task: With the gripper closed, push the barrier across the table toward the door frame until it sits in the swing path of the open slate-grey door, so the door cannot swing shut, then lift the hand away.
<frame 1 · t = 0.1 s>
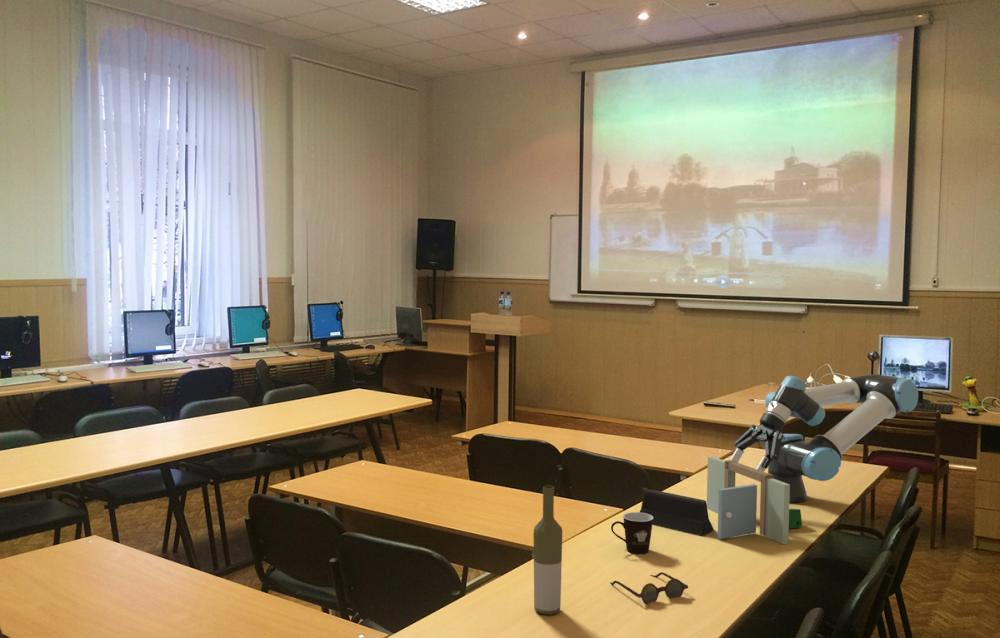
hand: (743, 470, 253), 15 cm above the table, tool tilted 35°, fingers open, 13 cm apart
door frame: (746, 525, 244), on the table
eyeglasses: (646, 591, 194), on the table
bottle: (547, 611, 181), on the table
clamp: (780, 527, 244), on the table
coffee mug: (632, 550, 222), on the table
door: (739, 511, 232), point 8 cm above the table, hinge at 95.0°
barrier: (674, 526, 244), on the table
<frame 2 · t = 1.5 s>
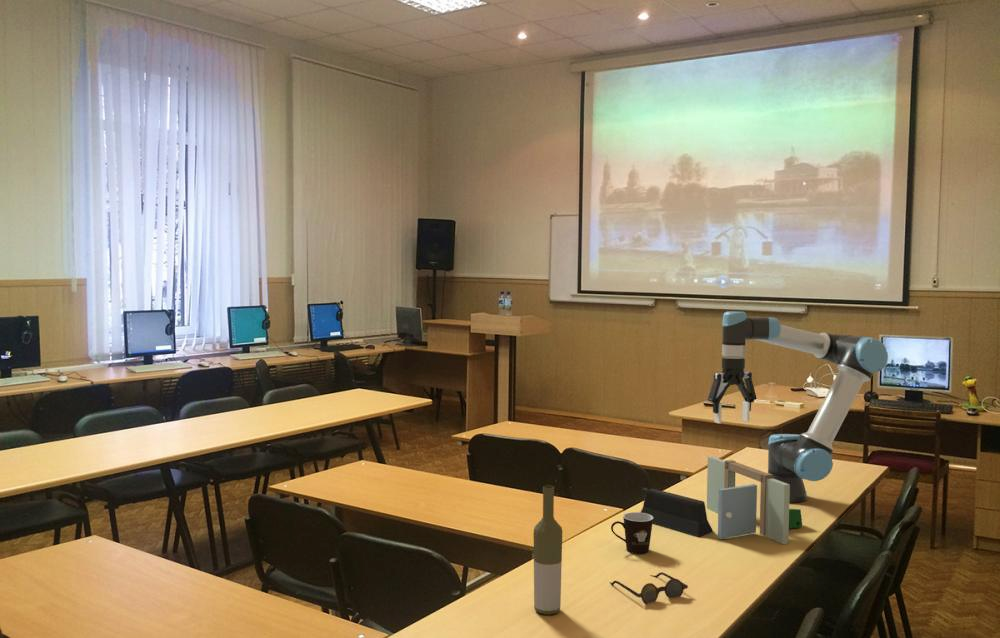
hand: (731, 421, 257), 31 cm above the table, tool pointing down, fingers open, 11 cm apart
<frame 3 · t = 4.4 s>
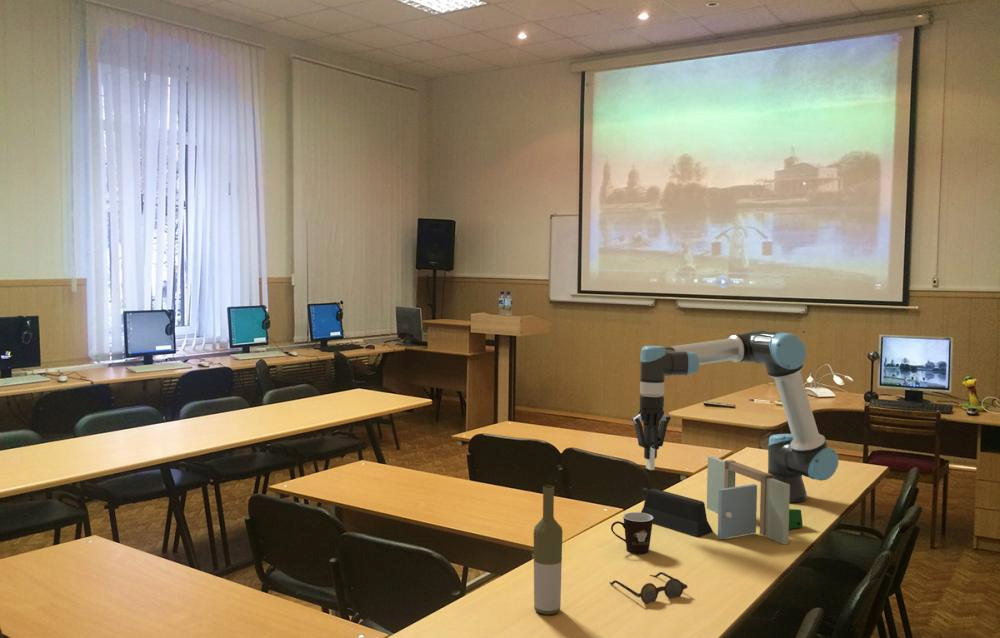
hand: (650, 468, 240), 19 cm above the table, tool pointing down, fingers closed
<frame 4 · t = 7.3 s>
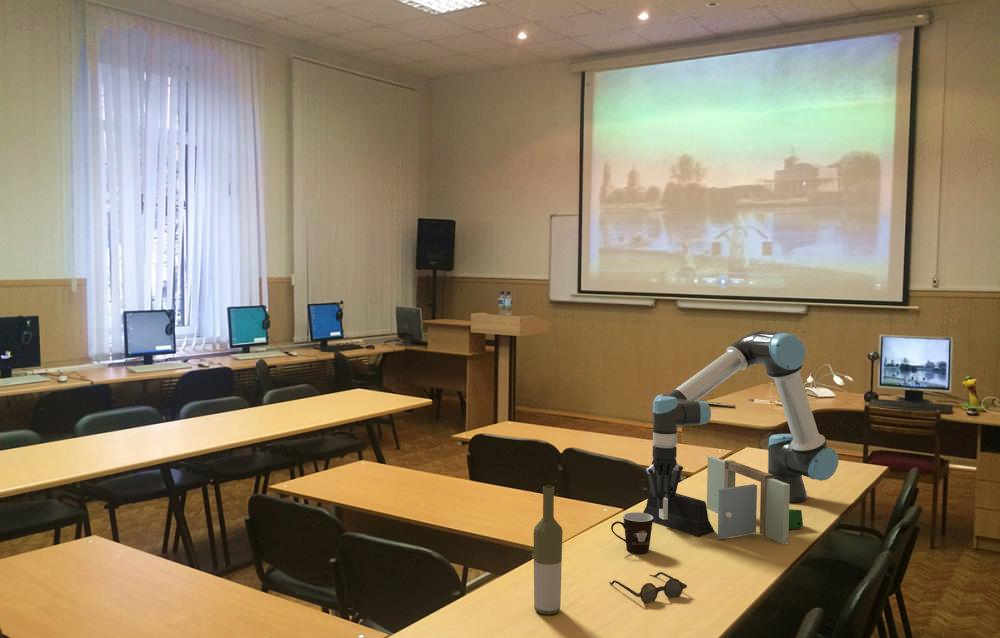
hand: (663, 518, 242), 3 cm above the table, tool pointing down, fingers closed
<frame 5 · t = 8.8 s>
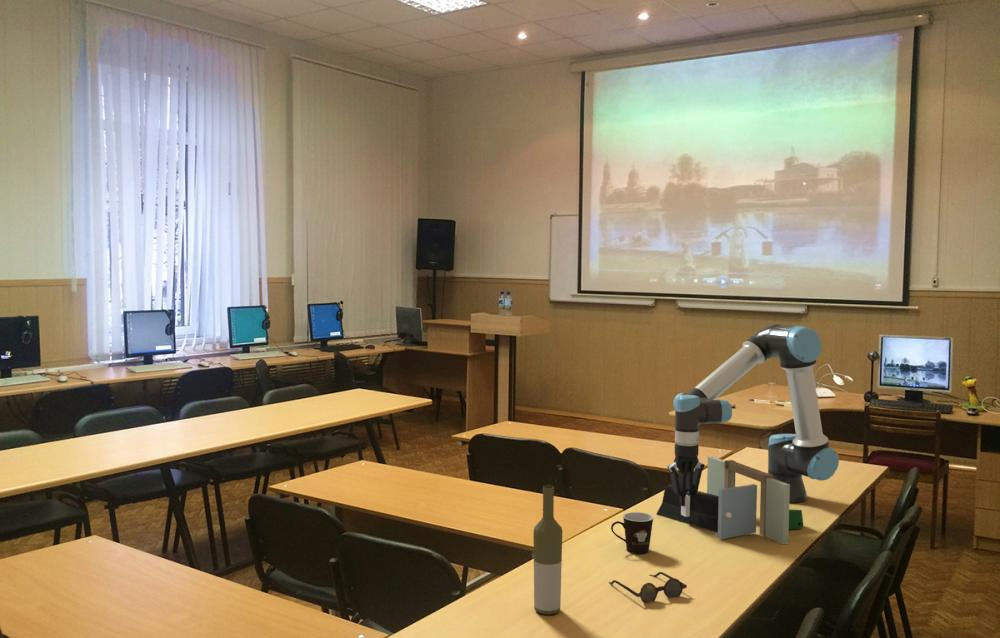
hand: (685, 515, 245), 3 cm above the table, tool pointing down, fingers closed
barrier: (692, 521, 249), on the table, touching gripper
everything else where it was.
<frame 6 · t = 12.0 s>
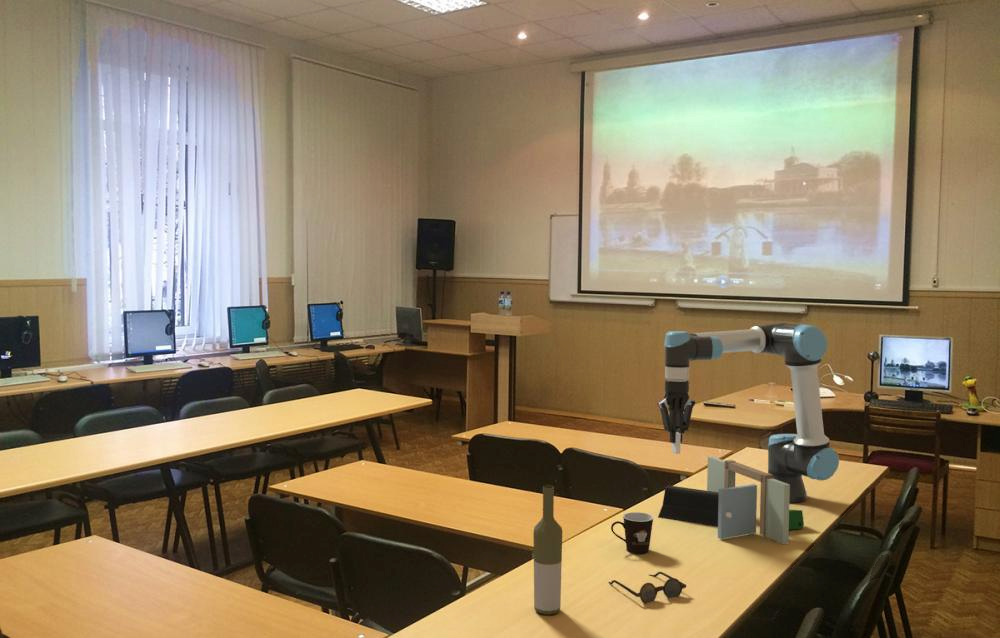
hand: (675, 452, 243), 24 cm above the table, tool pointing down, fingers closed
barrier: (696, 521, 250), on the table
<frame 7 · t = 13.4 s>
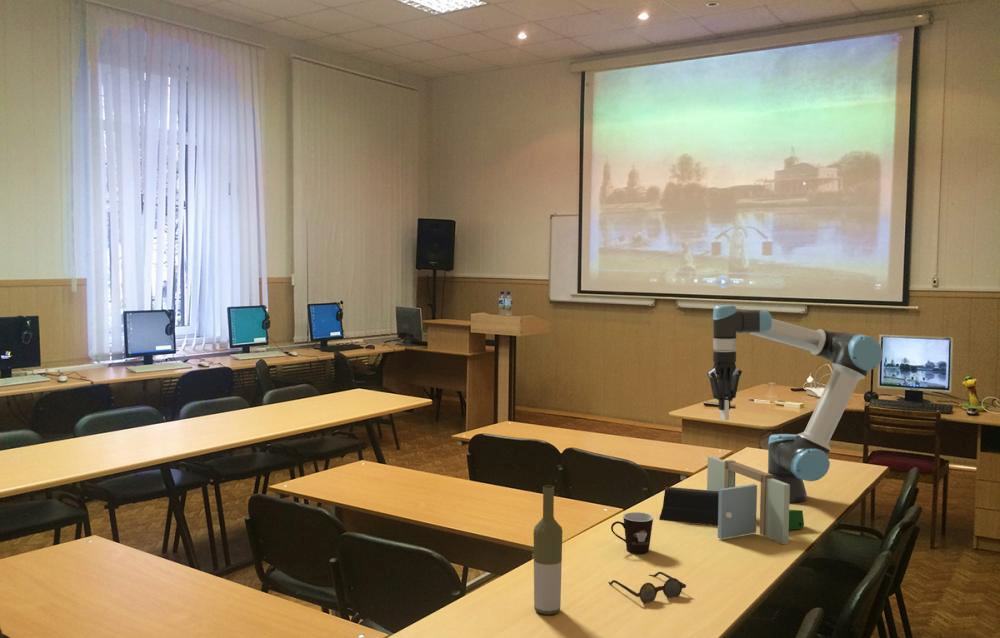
hand: (724, 419, 259), 32 cm above the table, tool pointing down, fingers closed
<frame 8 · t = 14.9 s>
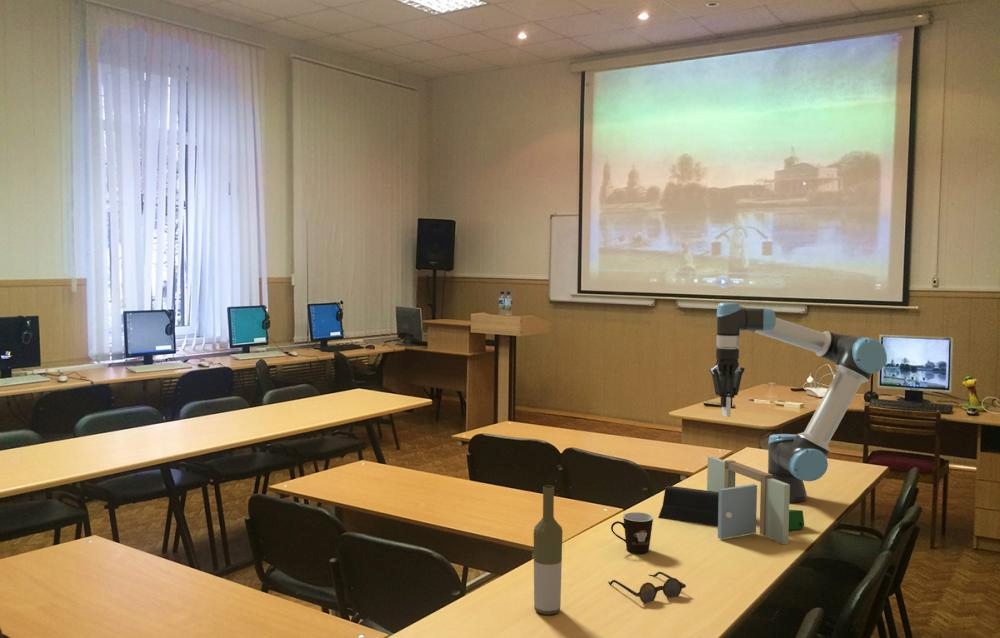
hand: (726, 416, 260), 32 cm above the table, tool pointing down, fingers closed
at the end: barrier inside the target area (2.8 cm from its centre), on the table; barrier moved 10.6 cm from its start; door at +95° (first picture: +95°) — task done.
